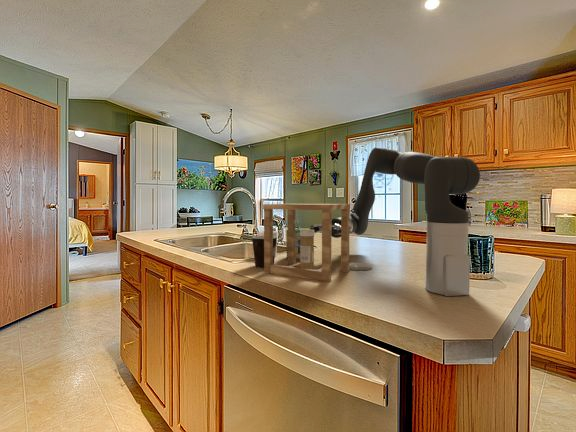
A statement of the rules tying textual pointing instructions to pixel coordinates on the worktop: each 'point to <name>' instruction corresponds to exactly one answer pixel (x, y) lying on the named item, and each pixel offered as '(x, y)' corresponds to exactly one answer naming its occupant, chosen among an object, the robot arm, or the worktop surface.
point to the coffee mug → (261, 250)
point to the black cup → (275, 233)
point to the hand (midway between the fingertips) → (322, 231)
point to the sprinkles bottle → (307, 249)
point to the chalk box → (296, 241)
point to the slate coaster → (359, 266)
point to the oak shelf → (294, 269)
